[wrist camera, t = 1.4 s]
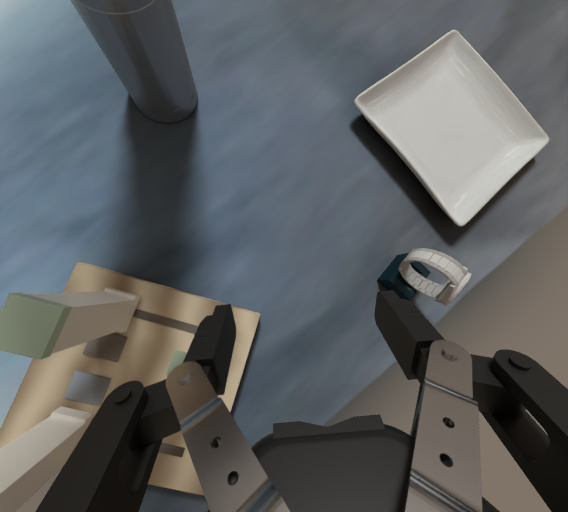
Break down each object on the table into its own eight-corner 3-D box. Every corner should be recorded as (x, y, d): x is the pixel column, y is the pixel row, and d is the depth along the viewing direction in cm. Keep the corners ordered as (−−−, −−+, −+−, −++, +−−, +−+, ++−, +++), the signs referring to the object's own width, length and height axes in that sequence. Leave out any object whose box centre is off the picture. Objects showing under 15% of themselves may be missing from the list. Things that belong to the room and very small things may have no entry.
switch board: (8, 439, 27) (-14, 454, 25) (88, 263, 31) (75, 261, 28) (207, 481, 29) (204, 498, 27) (259, 313, 33) (260, 315, 31)
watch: (405, 307, 36) (470, 316, 26) (369, 272, 36) (419, 266, 26) (424, 281, 38) (495, 279, 27) (389, 247, 37) (446, 232, 27)
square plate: (529, 150, 45) (555, 137, 41) (442, 234, 40) (463, 228, 36) (441, 44, 45) (459, 22, 41) (343, 114, 40) (353, 96, 36)
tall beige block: (95, 322, 28) (-19, 350, 16) (110, 287, 28) (11, 289, 17) (127, 331, 28) (38, 364, 16) (141, 296, 29) (65, 303, 17)
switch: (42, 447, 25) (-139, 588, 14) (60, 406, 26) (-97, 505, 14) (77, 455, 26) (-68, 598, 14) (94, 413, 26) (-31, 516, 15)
